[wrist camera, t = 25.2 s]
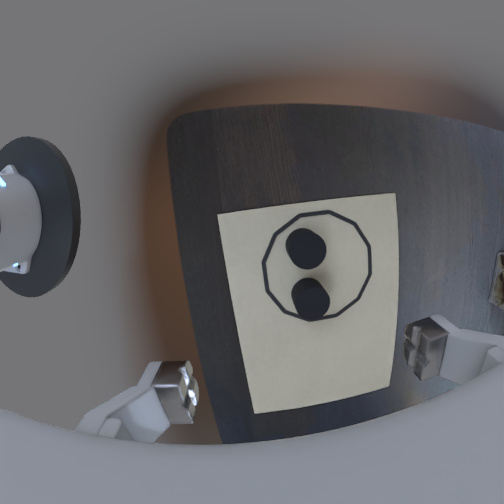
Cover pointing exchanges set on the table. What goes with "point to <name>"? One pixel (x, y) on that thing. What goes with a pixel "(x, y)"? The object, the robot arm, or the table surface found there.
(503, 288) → the coffee box
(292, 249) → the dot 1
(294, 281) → the sheet
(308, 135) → the table surface
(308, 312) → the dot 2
